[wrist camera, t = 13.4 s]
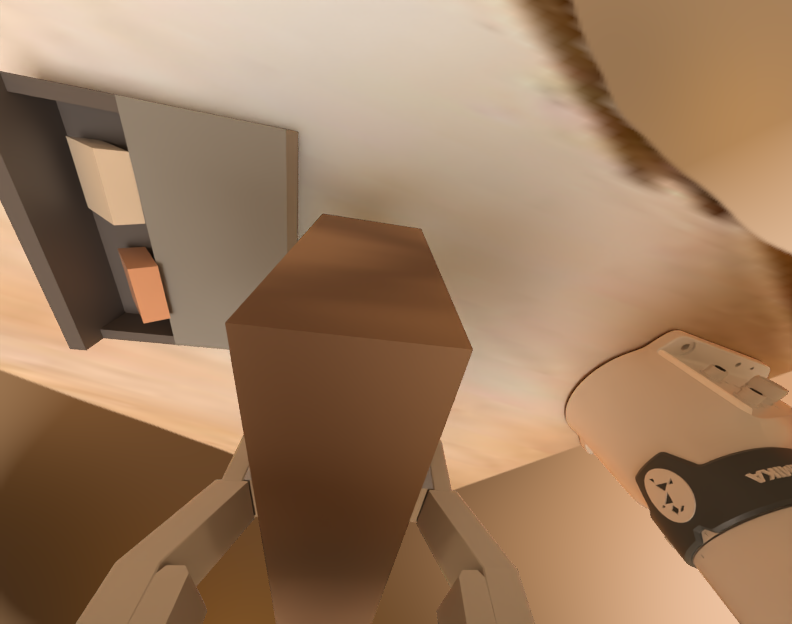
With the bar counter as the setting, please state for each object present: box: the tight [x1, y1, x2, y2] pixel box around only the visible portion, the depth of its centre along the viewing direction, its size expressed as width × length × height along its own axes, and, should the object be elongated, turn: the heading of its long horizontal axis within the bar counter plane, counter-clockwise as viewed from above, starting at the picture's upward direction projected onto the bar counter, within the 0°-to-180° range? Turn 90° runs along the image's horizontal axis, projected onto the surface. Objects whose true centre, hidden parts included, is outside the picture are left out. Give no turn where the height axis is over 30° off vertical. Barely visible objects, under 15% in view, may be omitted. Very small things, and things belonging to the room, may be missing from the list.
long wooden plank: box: [225, 214, 473, 624], centre depth 9 cm, size 3×13×6 cm, turn 171°
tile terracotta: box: [117, 247, 170, 323], centre depth 20 cm, size 4×4×2 cm
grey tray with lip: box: [0, 71, 298, 350], centre depth 19 cm, size 14×16×4 cm
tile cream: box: [66, 136, 145, 225], centre depth 17 cm, size 4×4×2 cm
